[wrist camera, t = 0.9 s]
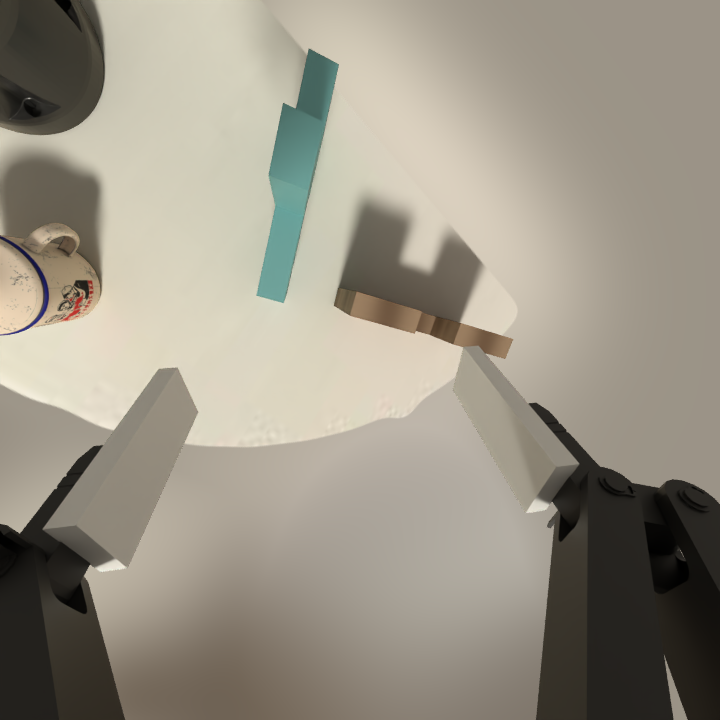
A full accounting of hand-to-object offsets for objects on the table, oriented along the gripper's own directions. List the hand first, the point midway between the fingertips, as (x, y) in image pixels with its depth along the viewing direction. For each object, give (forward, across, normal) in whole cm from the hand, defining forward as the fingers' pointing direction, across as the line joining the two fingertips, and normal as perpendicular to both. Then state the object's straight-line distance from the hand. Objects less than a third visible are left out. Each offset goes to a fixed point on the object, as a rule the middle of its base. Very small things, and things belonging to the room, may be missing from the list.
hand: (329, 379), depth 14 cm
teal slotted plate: (+30, -3, +2) cm, 31 cm away
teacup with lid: (+26, -29, -2) cm, 39 cm away
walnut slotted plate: (+27, +11, -11) cm, 31 cm away
